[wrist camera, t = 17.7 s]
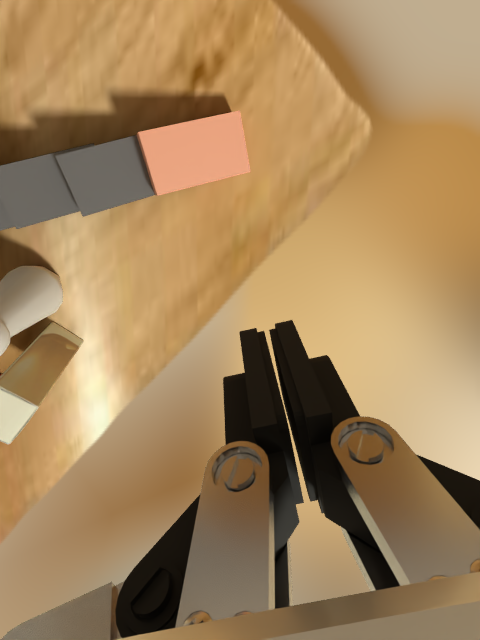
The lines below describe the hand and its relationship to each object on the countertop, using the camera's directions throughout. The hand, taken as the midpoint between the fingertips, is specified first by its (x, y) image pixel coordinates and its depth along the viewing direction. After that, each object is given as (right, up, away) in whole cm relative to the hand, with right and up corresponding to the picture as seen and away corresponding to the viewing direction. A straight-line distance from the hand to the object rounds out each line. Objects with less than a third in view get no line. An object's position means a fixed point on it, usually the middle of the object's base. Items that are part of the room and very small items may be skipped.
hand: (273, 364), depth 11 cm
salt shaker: (-23, +6, +27) cm, 36 cm away
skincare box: (-24, -2, +31) cm, 39 cm away
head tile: (-1, +18, +21) cm, 27 cm away
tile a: (-8, +16, +21) cm, 28 cm away
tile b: (-14, +15, +21) cm, 30 cm away
